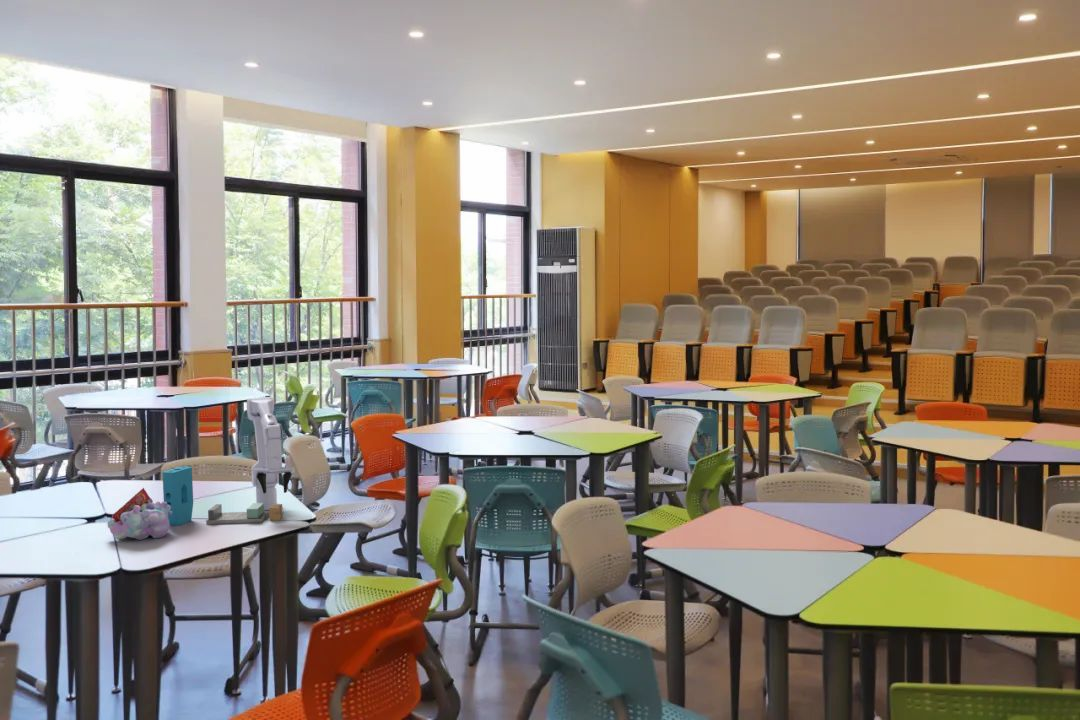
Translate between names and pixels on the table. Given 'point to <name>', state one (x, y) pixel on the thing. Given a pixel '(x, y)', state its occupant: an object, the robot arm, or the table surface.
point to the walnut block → (275, 512)
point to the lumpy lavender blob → (140, 518)
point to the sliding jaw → (255, 510)
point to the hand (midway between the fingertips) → (275, 492)
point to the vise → (231, 516)
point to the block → (178, 494)
